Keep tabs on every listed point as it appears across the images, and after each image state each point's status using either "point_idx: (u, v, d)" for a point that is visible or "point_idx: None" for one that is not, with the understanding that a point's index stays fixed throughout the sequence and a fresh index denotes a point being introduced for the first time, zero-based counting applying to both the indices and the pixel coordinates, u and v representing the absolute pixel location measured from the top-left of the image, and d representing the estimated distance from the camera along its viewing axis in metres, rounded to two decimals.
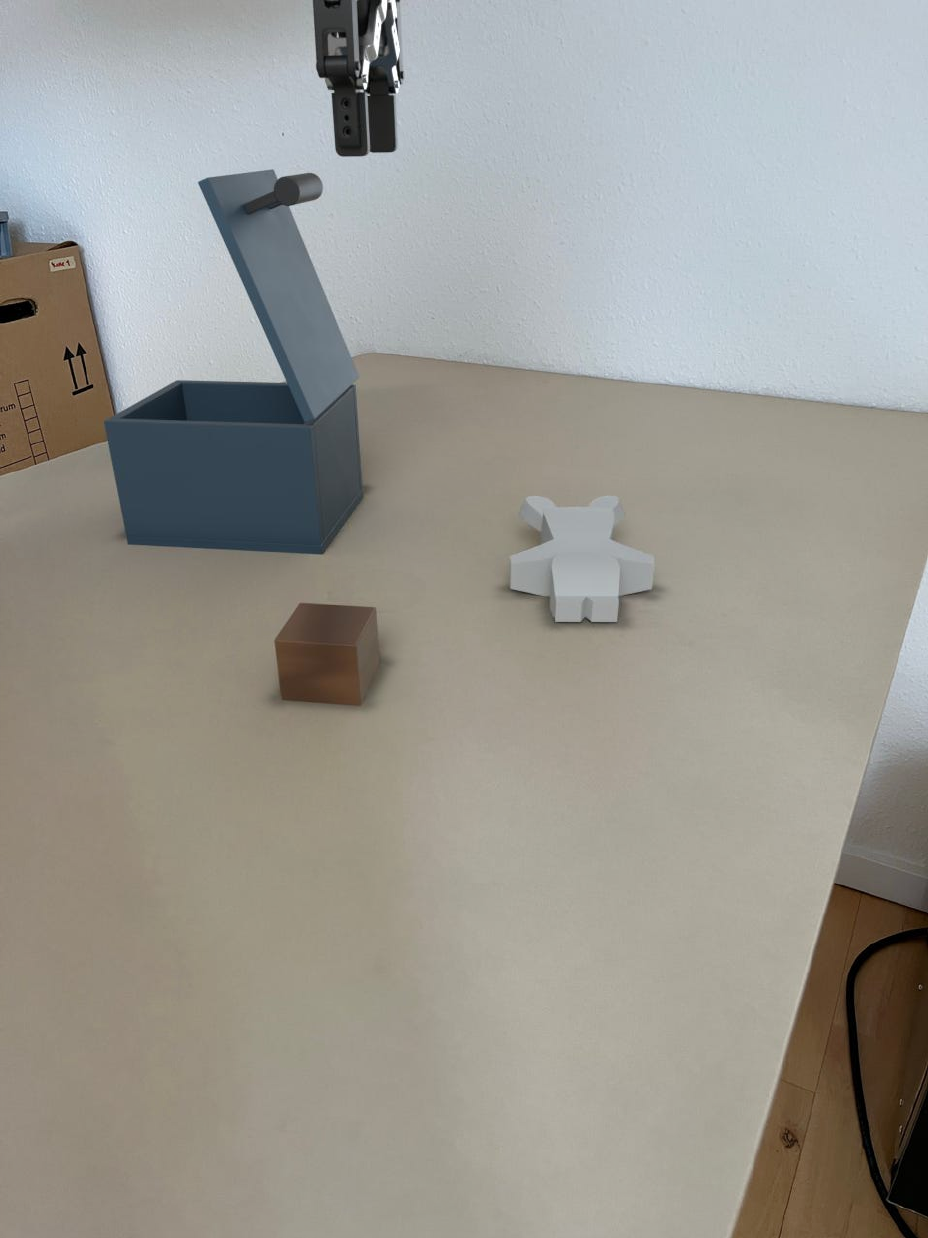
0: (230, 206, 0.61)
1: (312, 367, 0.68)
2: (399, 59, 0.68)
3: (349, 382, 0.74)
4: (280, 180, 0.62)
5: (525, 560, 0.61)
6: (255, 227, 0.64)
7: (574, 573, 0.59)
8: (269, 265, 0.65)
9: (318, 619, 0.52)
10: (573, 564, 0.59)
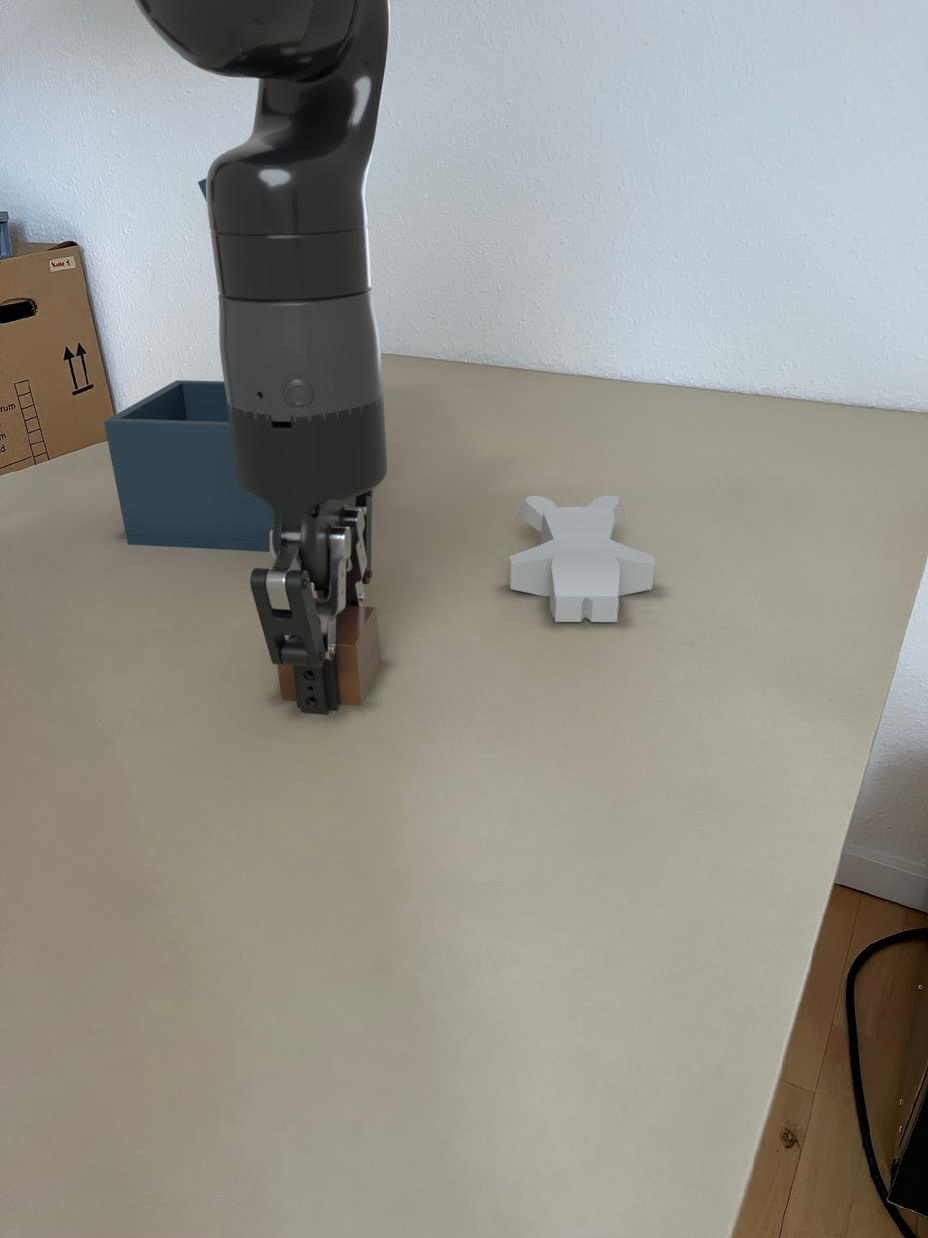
0: None
1: None
2: (366, 558, 0.54)
3: None
4: None
5: (525, 560, 0.61)
6: None
7: (574, 574, 0.59)
8: None
9: (318, 619, 0.52)
10: (573, 564, 0.59)
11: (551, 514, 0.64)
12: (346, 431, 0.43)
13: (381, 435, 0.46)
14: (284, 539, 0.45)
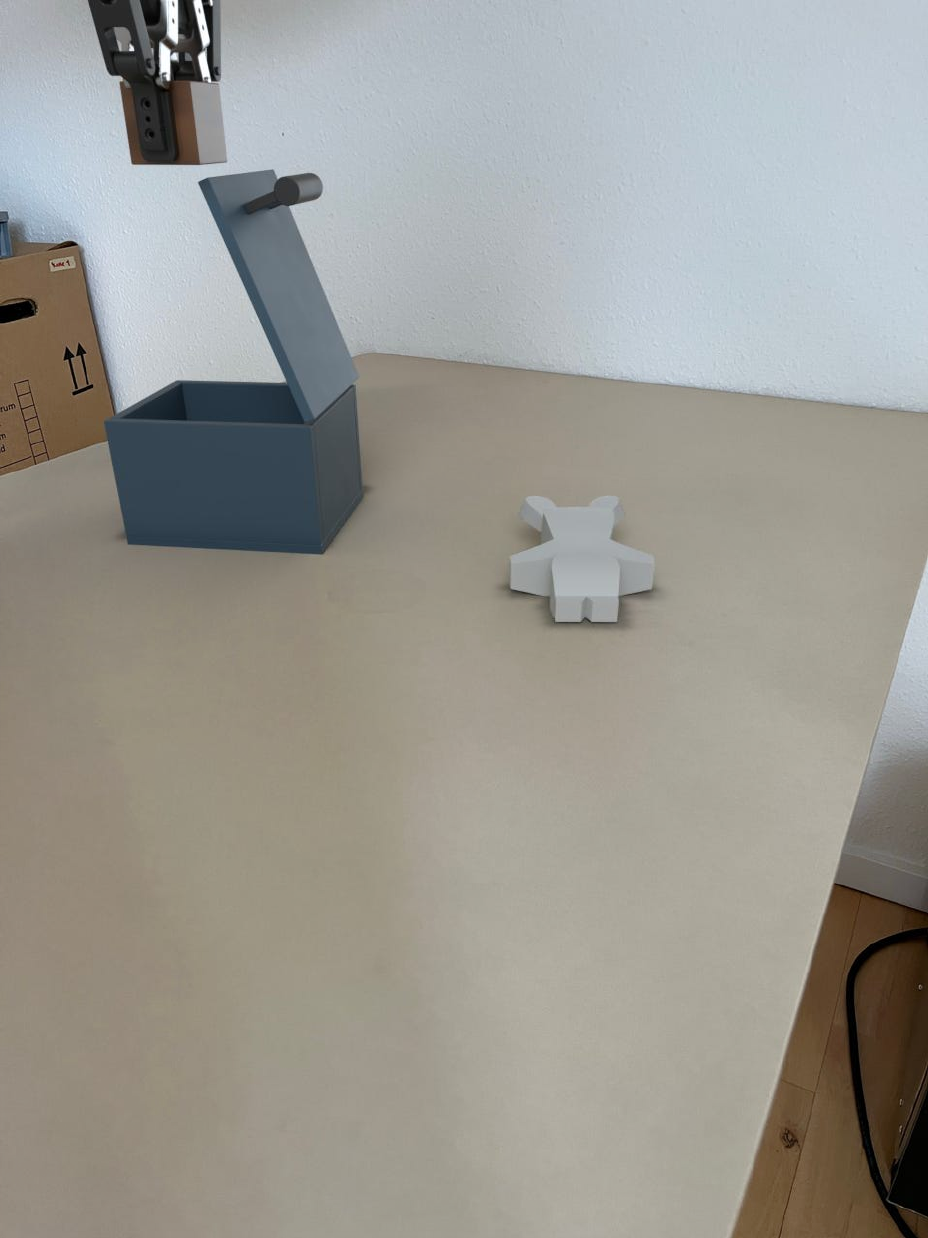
0: (230, 206, 0.61)
1: (312, 367, 0.68)
2: (214, 51, 0.61)
3: (349, 382, 0.74)
4: (280, 180, 0.62)
5: (525, 560, 0.61)
6: (255, 227, 0.64)
7: (574, 573, 0.59)
8: (269, 265, 0.65)
9: None
10: (573, 564, 0.59)
11: (551, 514, 0.64)
12: None
13: None
14: None
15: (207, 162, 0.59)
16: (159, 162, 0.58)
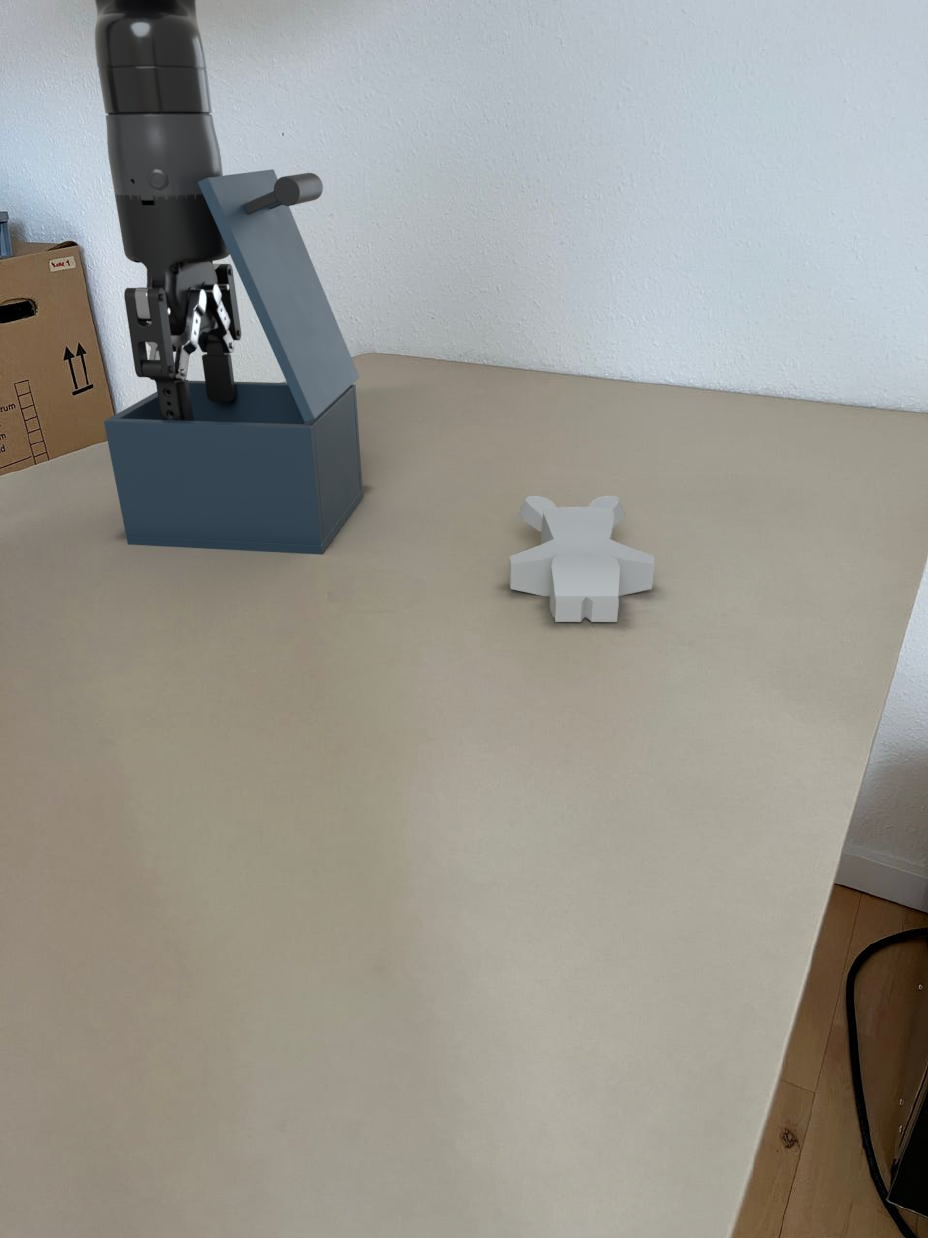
0: (230, 206, 0.61)
1: (312, 367, 0.68)
2: (234, 321, 0.76)
3: (349, 382, 0.74)
4: (280, 180, 0.62)
5: (525, 560, 0.61)
6: (255, 227, 0.64)
7: (574, 573, 0.59)
8: (269, 265, 0.65)
9: None
10: (573, 564, 0.59)
11: (551, 514, 0.64)
12: (193, 210, 0.64)
13: None
14: (154, 285, 0.66)
15: None
16: None
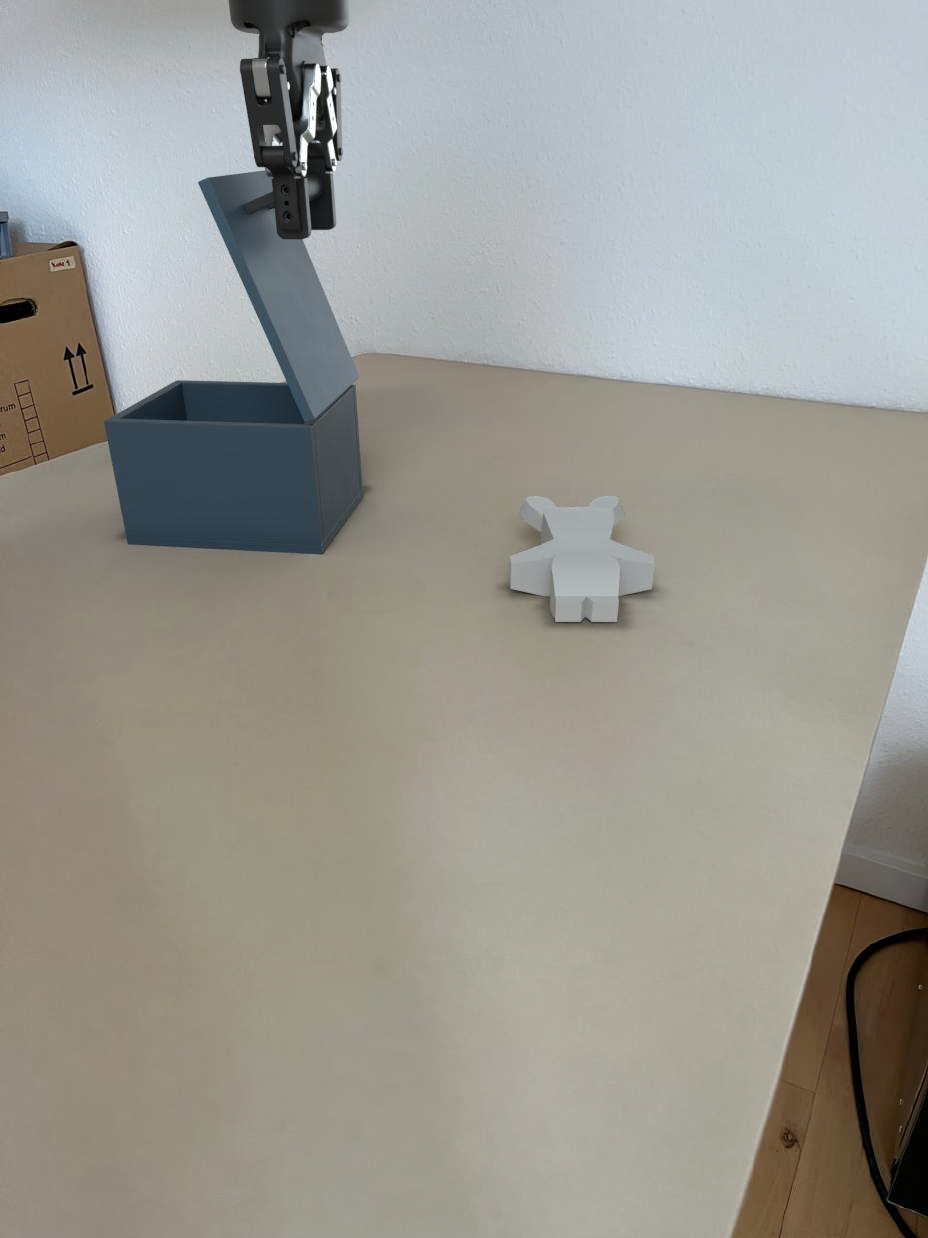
0: (230, 206, 0.61)
1: (312, 367, 0.68)
2: (337, 135, 0.68)
3: (349, 382, 0.74)
4: None
5: (525, 560, 0.61)
6: (255, 227, 0.64)
7: (574, 573, 0.59)
8: (269, 265, 0.65)
9: None
10: (573, 564, 0.59)
11: (551, 514, 0.64)
12: None
13: None
14: (267, 54, 0.58)
15: None
16: None
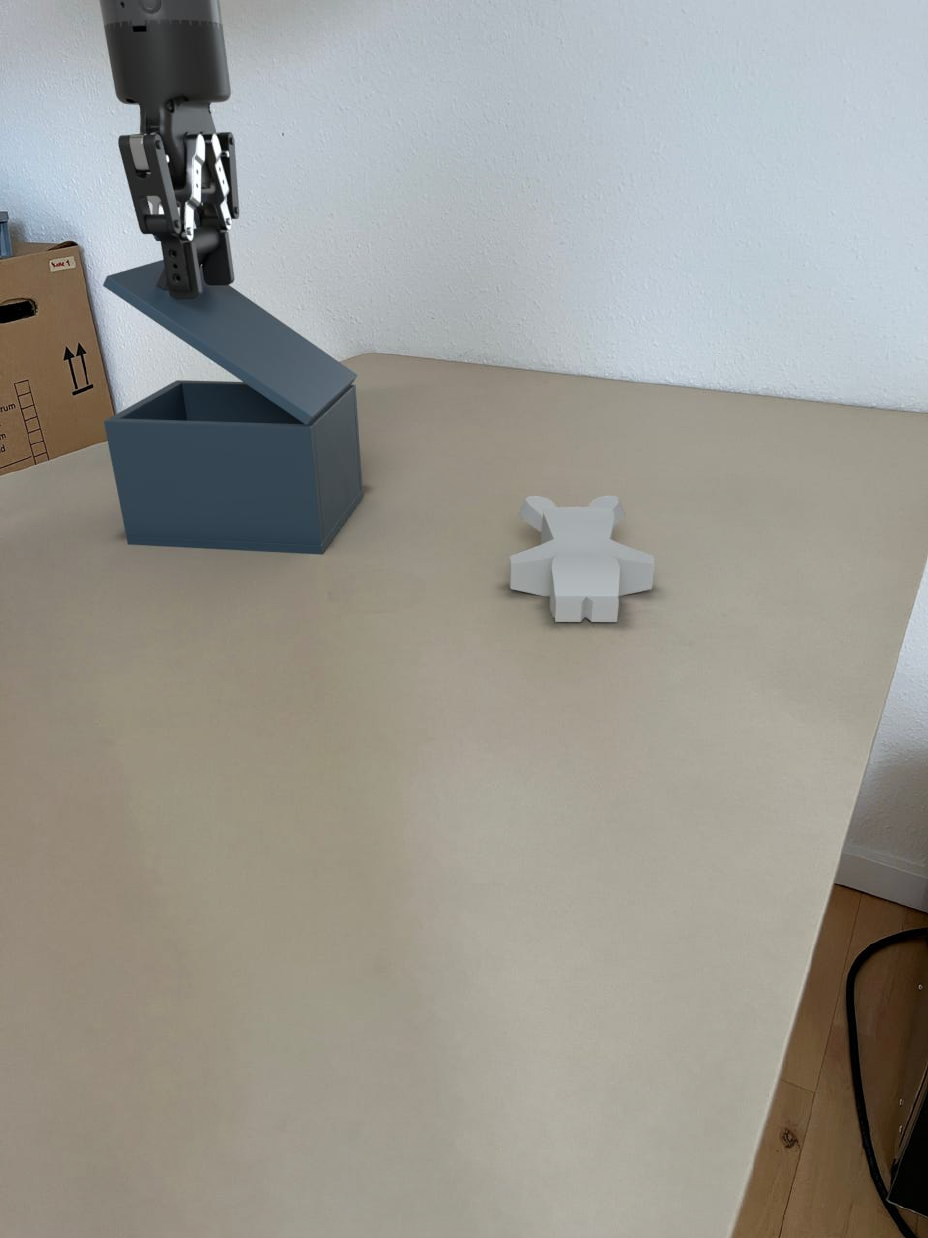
0: (142, 289, 0.65)
1: (292, 379, 0.68)
2: (232, 195, 0.71)
3: (346, 381, 0.74)
4: None
5: (525, 560, 0.61)
6: None
7: (574, 573, 0.59)
8: (206, 319, 0.67)
9: None
10: (573, 564, 0.59)
11: (551, 514, 0.64)
12: (188, 38, 0.59)
13: (220, 55, 0.61)
14: (148, 128, 0.61)
15: None
16: None
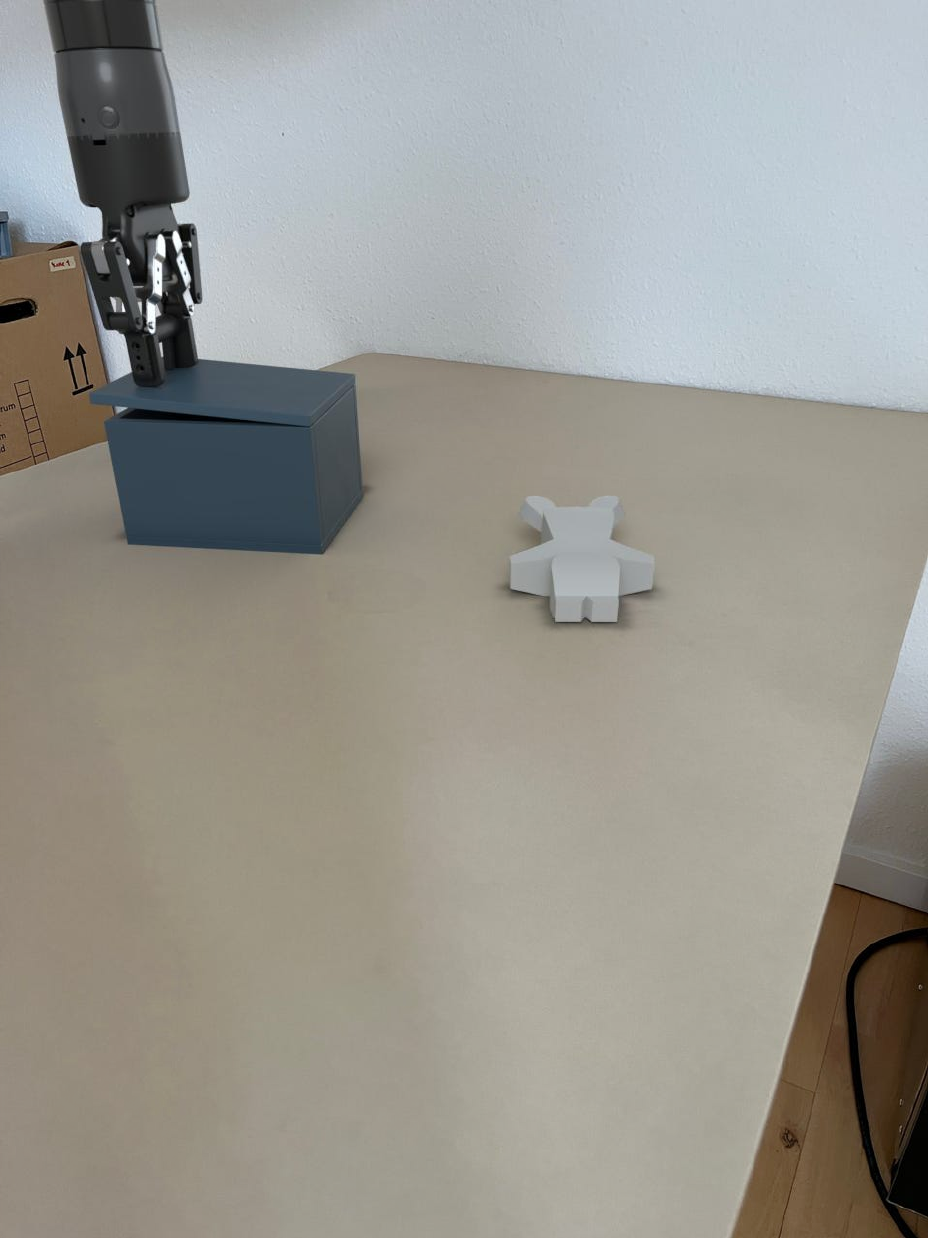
0: (124, 390, 0.69)
1: (285, 398, 0.69)
2: (195, 282, 0.74)
3: (343, 381, 0.74)
4: None
5: (525, 560, 0.61)
6: None
7: (574, 573, 0.59)
8: (191, 388, 0.70)
9: None
10: (573, 563, 0.59)
11: (551, 514, 0.64)
12: (146, 149, 0.63)
13: (178, 161, 0.65)
14: (110, 232, 0.64)
15: None
16: None
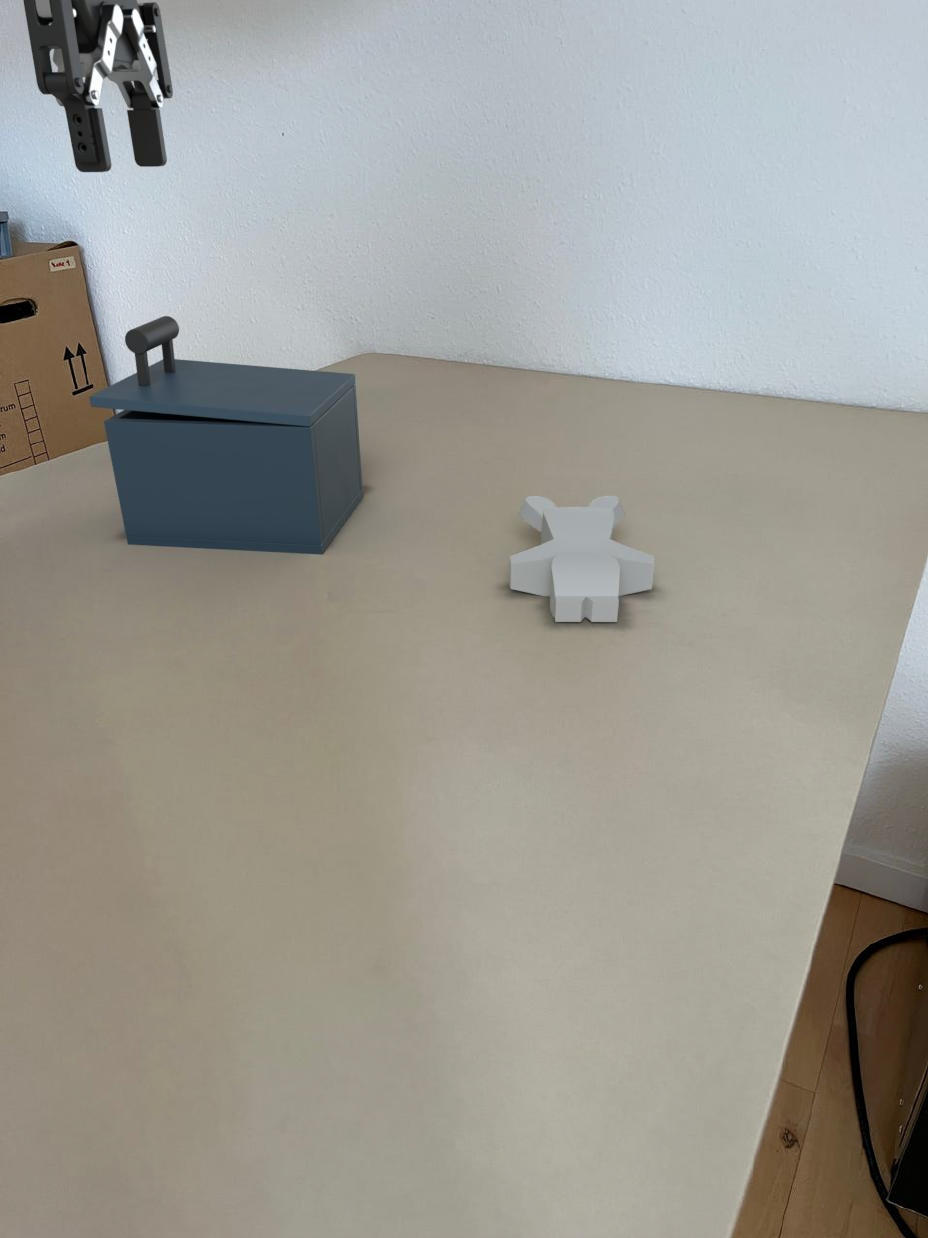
0: (124, 392, 0.69)
1: (285, 398, 0.69)
2: (163, 73, 0.68)
3: (343, 381, 0.74)
4: (127, 342, 0.69)
5: (525, 560, 0.61)
6: (161, 385, 0.71)
7: (574, 573, 0.59)
8: (191, 390, 0.70)
9: None
10: (573, 564, 0.59)
11: (551, 514, 0.64)
12: None
13: None
14: None
15: None
16: None
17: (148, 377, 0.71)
